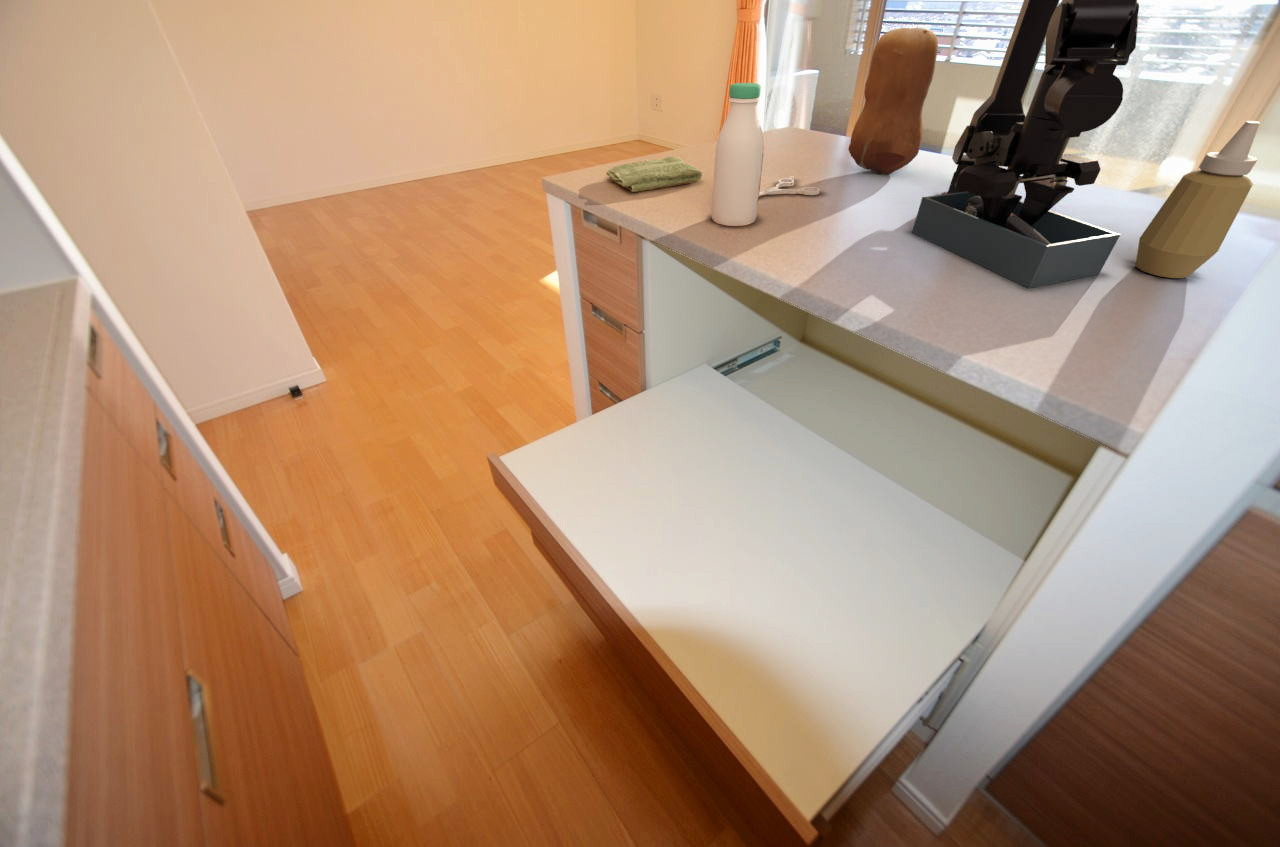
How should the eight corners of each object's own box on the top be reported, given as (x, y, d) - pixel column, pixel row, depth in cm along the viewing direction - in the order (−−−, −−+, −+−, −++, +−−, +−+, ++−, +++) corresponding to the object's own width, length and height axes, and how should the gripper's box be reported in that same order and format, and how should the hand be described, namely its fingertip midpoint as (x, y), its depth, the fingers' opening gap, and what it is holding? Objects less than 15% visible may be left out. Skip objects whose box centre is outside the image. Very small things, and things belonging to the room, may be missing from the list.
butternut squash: (892, 162, 121) (927, 24, 105) (924, 178, 111) (969, 27, 95) (833, 165, 120) (860, 26, 104) (860, 182, 109) (895, 30, 94)
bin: (972, 223, 89) (985, 188, 86) (1098, 274, 73) (1120, 234, 69) (911, 232, 86) (922, 197, 83) (1028, 288, 70) (1047, 246, 66)
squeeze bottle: (1110, 261, 76) (1189, 117, 65) (1164, 258, 77) (1251, 114, 65) (1158, 285, 70) (1254, 130, 59) (1216, 281, 70) (1322, 127, 59)
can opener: (942, 228, 86) (955, 191, 82) (983, 227, 86) (998, 190, 83) (1012, 273, 72) (1031, 231, 69) (1061, 271, 73) (1082, 229, 69)
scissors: (829, 188, 103) (745, 204, 96) (828, 192, 104) (744, 208, 97) (792, 176, 111) (711, 190, 104) (791, 179, 111) (711, 194, 104)
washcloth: (603, 178, 115) (602, 162, 113) (678, 169, 120) (678, 153, 118) (625, 195, 105) (624, 177, 103) (705, 184, 110) (706, 167, 108)
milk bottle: (755, 228, 89) (771, 87, 77) (708, 226, 91) (717, 87, 78) (756, 213, 95) (772, 80, 83) (713, 211, 96) (721, 80, 84)
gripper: (1053, 102, 77) (1008, 213, 86) (946, 111, 72) (911, 228, 82) (1130, 114, 68) (1070, 236, 78) (1014, 126, 64) (966, 254, 74)
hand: (1002, 237), depth 78 cm, fingers closed on can opener, 5 cm apart
